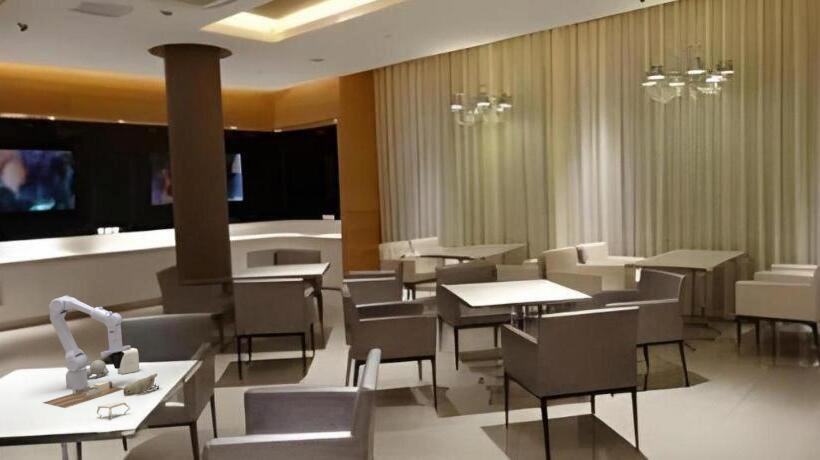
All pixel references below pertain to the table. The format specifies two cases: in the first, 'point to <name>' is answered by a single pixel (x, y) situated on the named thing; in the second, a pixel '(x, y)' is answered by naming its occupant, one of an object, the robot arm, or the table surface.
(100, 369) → the round bodied animal figurine
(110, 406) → the white arched legged piece
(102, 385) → the plug
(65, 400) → the base board
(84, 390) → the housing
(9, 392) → the table surface
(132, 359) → the photo printer
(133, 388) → the decorative bird
